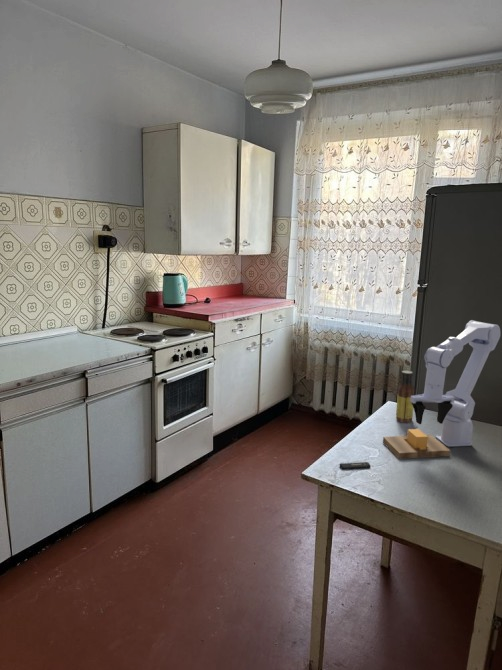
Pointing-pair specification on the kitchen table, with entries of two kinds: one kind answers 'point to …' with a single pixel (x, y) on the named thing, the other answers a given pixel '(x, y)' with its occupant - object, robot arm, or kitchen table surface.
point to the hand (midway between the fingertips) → (429, 422)
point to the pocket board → (407, 451)
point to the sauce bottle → (405, 398)
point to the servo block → (417, 439)
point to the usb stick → (354, 465)
